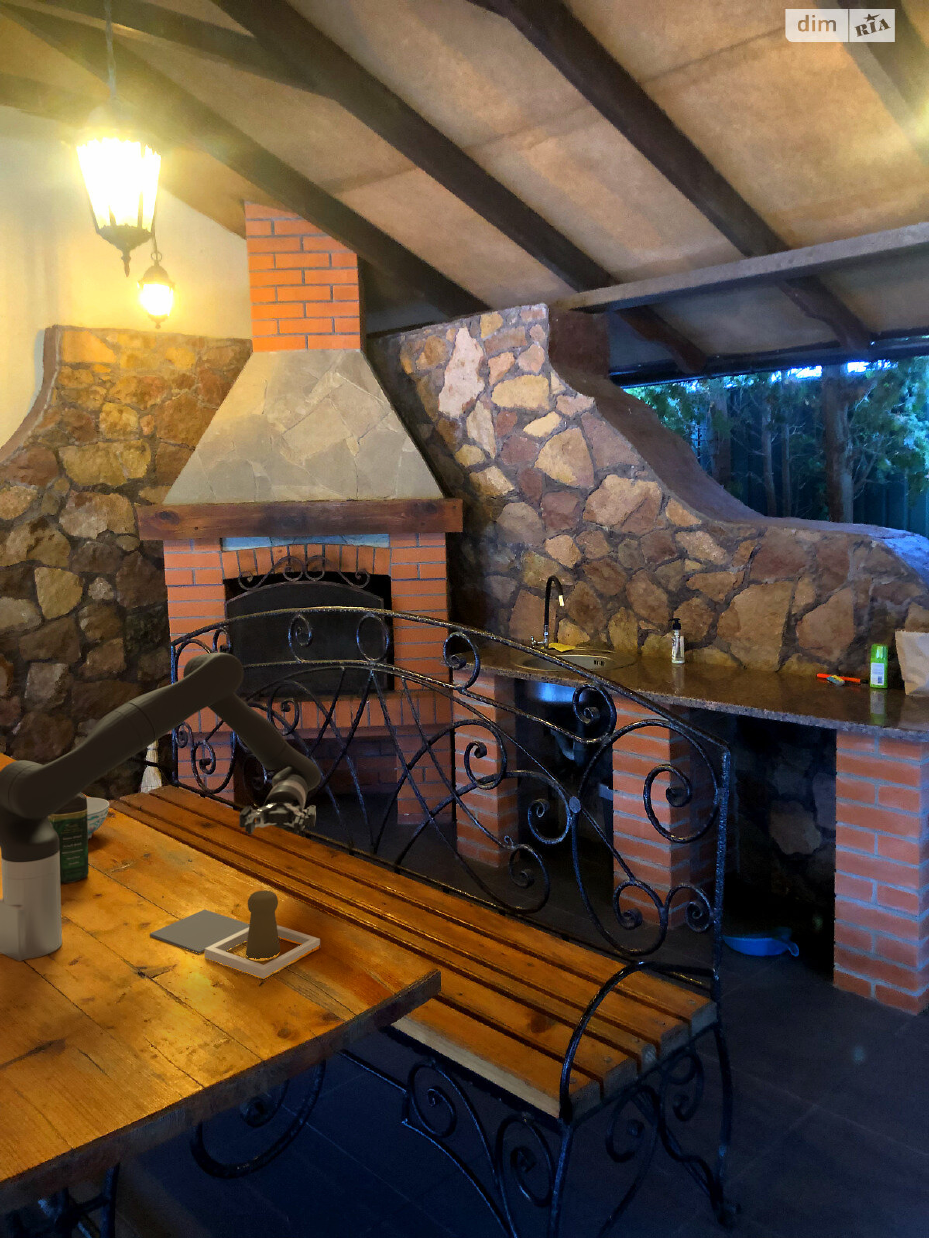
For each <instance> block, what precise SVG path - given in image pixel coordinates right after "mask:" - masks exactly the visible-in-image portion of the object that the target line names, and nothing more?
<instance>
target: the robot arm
mask: <svg viewBox="0 0 929 1238" xmlns="http://www.w3.org/2000/svg"><path fill="white" fill-rule="evenodd" d="M244 671H245V670H244V667H243V663H242V662H241V661H240V660H239V659H238V657H237V656H234V655H233V654H231V653H226V652H213V653H204V654H199V655H196V656H194V657H192V658H190V659H189V660H188V661H187V662H186V664H185V666H184V669H183V674H182V677H183V678H181V679H180V680H177V681H175V682H174V683H172V684H168V685H166V686H162V687H160V688H157V689H154V690H152V691H149V692H147V693H144V694H141V695H139V696H136V697H135V698H133V699H131V700H129V701H127V702H125V703H123V704H122V705H120V706H118V707H117V708H115V709H114V710H112V711H110V712H109V713H107V714H106V715H104V716H103V717H102V718H101V719H99V721H98V722H96V724H95V725H94V727H93V728H92V729H91V730H90V732H89V733H88V735H87V736H86V737H85V739H84V740H83V741H82V742H81V743H80V744H79V745H78V746H77V747H75V748H74V749H73V750H70V751H69V752H68V753H66V754H64V755H62V756H60V757H58V758H57V759H55V760H53V761H50V762H48V763H45V764H41V763H37V762H34V761H32V760H31V761H30V760H25V759H24V760H23V759H22V760H16V761H12V762H10V763H8V764H6V765H5V766H4V767H3V768H1V770H0V854H1V856H0V857H1V858H0V859H1V883H2V884H1V885H2V886H1V889H2V890H1V891H2V898H0V954H2V955H4V956H7V957H9V958H11V959H13V960H16V961H18V962H21V961H24V960H27V959H34V958H35V959H36V958H39V957H43V956H46V955H48V954H51V953H53V952H54V951H57V950H58V949H59V948H61V946H62V944H63V936H62V935H63V930H62V929H63V928H62V902H61V901H62V898H61V894H62V893H61V882H60V854H59V837H58V834H57V833H56V831H55V830H54V829H53V827H52V826H51V824H50V822H49V819H48V816H50V815H52V814H53V813H55V812H56V811H58V810H59V809H60V808H62V807H63V806H64V805H65V804H67V803H68V802H69V801H70V800H71V799H73V798H74V797H75V796H76V795H78V794H79V793H80V792H81V793H82V792H83V791H84V790H85V789H86V788H88V787H89V786H90V785H91V784H93V783H94V782H95V781H96V780H98V779H99V778H101V777H102V776H104V775H106V774H107V773H109V772H110V771H112V770H114V769H115V768H116V767H118V766H120V765H121V764H123V763H124V762H126V761H127V760H129V759H130V758H131V757H132V758H133V756H135V755H137V754H139V753H141V752H142V751H143V750H144V749H147V748H148V747H150V746H151V745H152V744H154V743H155V742H156V741H158V740H159V739H160V738H162V737H163V736H165V735H167V734H168V733H169V732H171V731H173V730H174V729H175V728H177V727H178V726H180V725H181V724H182V723H183V722H185V721H186V720H187V719H189V718H190V717H193V715H195V714H197V713H198V712H200V711H202V710H203V709H205V708H209V710H210V711H212V713H214V714H215V715H216V716H217V717H218V718H219V719H220V720H221V721H223V722H224V723H225V724H226V725H227V726H228V727H229V728H230V729H231V731H233V732H234V733H235V734H236V735H237V736H238V738H239V739H240V740H241V741H242V742H243V743H244V745H246V746H247V748H248V750H250V751H251V753H252V754H253V755H254V757H256V760H258V761H259V762H260V764H261V765H262V766H263V767H264V768H265V769H267V770H270V771H273V770H278V769H280V768H284V769H282V770H280V771H279V772H277V773H276V774H275V775H274V776H273V777H272V779H271V786H272V789H271V790H270V792H269V793H268V795H267V797H266V799H265V801H264V803H263V806H261V807H260V808H258V809H254V808H253V806H251V805H245V807H244V808H242V811H241V812H239V814H238V817H239V821H238V822H239V828H241V829H242V828H244V831H245V832H247V835H253V833H254V831H255V829H256V828H258V827H259V828H261V829H262V828H265V827H269V826H270V825H271V826H274V827H278V828H287V827H291V828H293V835H297V834H299V832H301V831H303V830H304V828H305V827H306V826H307V827H309V828H313V827H315V825H316V818H317V813H316V812H317V811H316V808H317V807H316V805H314V804H312V805H309V806H308V807H307V808H306V809H305V805H306V800H307V797H308V792H310V791H312V790H313V789H315V788H317V786H319V784H320V783H321V780H322V779H321V777H322V775H321V771H320V769H319V767H318V766H317V764H316V763H315V762H313V761H312V760H311V759H310V758H308V757H307V756H305V755H304V754H302V753H301V752H299V751H298V750H297V749H295V748H293V746H292V745H290V744H289V742H287V740H286V739H285V738H284V737H283V735H282V734H281V733H280V732H279V731H278V729H277V728H276V727H275V726H274V725H273V723H272V722H270V721H269V719H267V718H265V717H264V716H263V715H261V714H260V713H259V712H257V711H256V710H255V709H253V708H252V707H251V706H249V705H248V704H247V703H245V702H244V700H242V699H241V698H240V697H239V696H238V695H237V693H236V691H237V690H238V689H239V688H240V686H241V684H242V683H243V679H244V675H245V674H244ZM285 767H286V768H285Z"/></svg>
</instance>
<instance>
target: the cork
mask: <svg viewBox="0 0 929 1238" xmlns="http://www.w3.org/2000/svg"><path fill="white" fill-rule="evenodd" d="M278 905H279V900H278V896H277V894H276V893H275V892H273V891H271V890H266V889H265V890H258V891H255V892H253V893H252V894H250V896H249V897H248V899H247V908H248V911H249V912H250V918H249V919H250V920H249V923H248V924H249V932H248V940H247V942H246V949H245V956H246V955H247V956H248V958H254V959H255V958H256V959H260V958H270V957H273V956H274V955H277V954H278V953H279V952H280V951H281V945H280V939H279V937H278V930H277V925H278V924H277V918H276V910H277V908H278V907H279V906H278ZM248 958H247V959H248Z"/></svg>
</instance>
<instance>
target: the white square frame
mask: <svg viewBox="0 0 929 1238" xmlns="http://www.w3.org/2000/svg"><path fill="white" fill-rule="evenodd" d="M277 930H278V936H279V937H281V938H286V939H289V940H292V941H296V942H299V943H302V945H300V946H299V945H297V946H296V947H295V948H293V949H291V950H289V951H286V952H285V953H283V954H281V955H279V956H278V957H277V958H275V959H273V960H269V962H267V963H266V964H261V963H260V962H257V961H252V960H249V959H248V958H246V957H243V956H242V957H241V956H239V955H236V954H234V953H230V952H228V951H227V950H229V949H230V948H233V949H234V947H235V946H236V945H238V944H241V943H243V942H244V941H247V940H248V932H249V927H248V928H246V929H244V930H242V931H240V932H238V933H236V934H234V935H231V936H229V937H227V938H225V939H223V940H221V941H219V942H217V943H215V944H213V945H211V946H209V947H207V948H205V952H204V959H205V958H208V959H210V960H213V961H217V962H219V963H222V964H223V965H222V966H224V965H228V966H230V967H232V968H236V969H239V970H241V971H243V972H248V973H250V974H253V975H256V976H259V977H261V978H265V977H266V976H268V975H270V974H271V973H272V972H274V971H276V970H278V969H279V968H281V967H283V966H284V965H287V964H288V963H289V962H291V961H293V960H295V959H297V958H299V957H300V956H301V955H304V954H305V953H307V952H308V951H311V950H312V949H314V948H316V947H317V946H319V945H320V946H321V938H319V937H315V936H313V935H309V934H306V933H303V932H300V931H296V930H294V929H291V928H287V927H284V926H282V925H278V924H277ZM243 944H244V943H243ZM241 945H242V944H241ZM235 948H236V947H235ZM226 951H227V952H226ZM229 951H230V950H229ZM208 959H207V960H208ZM210 960H209V961H210ZM213 961H212V962H213ZM232 968H231V969H232ZM243 972H242V973H243Z"/></svg>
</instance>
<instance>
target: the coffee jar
mask: <svg viewBox="0 0 929 1238" xmlns="http://www.w3.org/2000/svg"><path fill="white" fill-rule="evenodd" d="M86 797H87V796H86V795H85V794H84V793H83V792H82V791H81V792H80V793H79V794H78V795H76V796H75V797H74V798H73V799H71V800H70V801H69V802H68V803H67V804H65V805H64V806H63V807H62V808H60V809H59V810H58V811H56V812H55V813H53V814H52V815H50V816H48V819H49V822H50V824H51V826H52V827H53V829H54V830H55V831H56V833H57V834H58V837H59V854H60V883H67V884H68V883H75V882H77V881H79V880H82V879H86V878H87V877H88V876H89V873H90V872H89V870H90V869H89V867H90V866H89V865H90V863H89V839H88V821H87V798H86Z"/></svg>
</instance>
